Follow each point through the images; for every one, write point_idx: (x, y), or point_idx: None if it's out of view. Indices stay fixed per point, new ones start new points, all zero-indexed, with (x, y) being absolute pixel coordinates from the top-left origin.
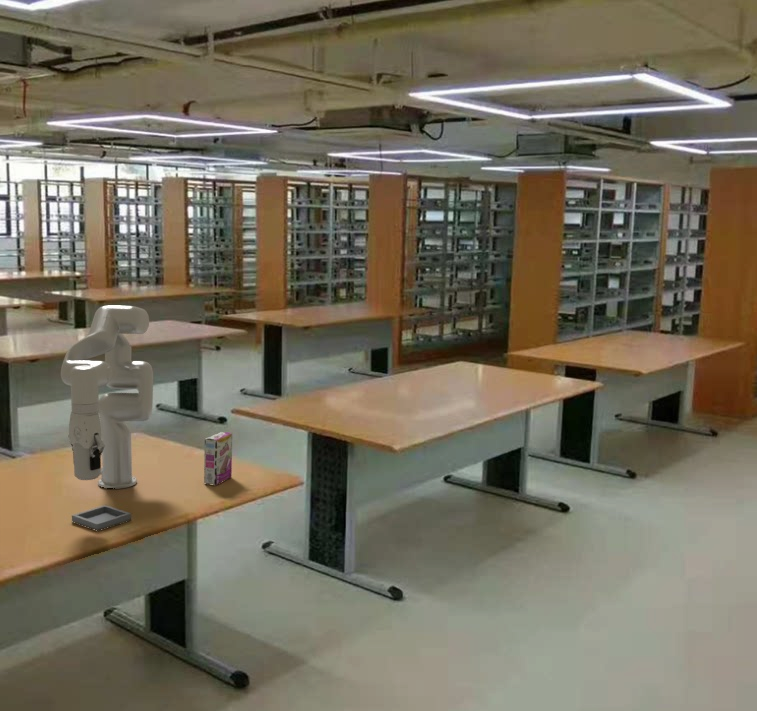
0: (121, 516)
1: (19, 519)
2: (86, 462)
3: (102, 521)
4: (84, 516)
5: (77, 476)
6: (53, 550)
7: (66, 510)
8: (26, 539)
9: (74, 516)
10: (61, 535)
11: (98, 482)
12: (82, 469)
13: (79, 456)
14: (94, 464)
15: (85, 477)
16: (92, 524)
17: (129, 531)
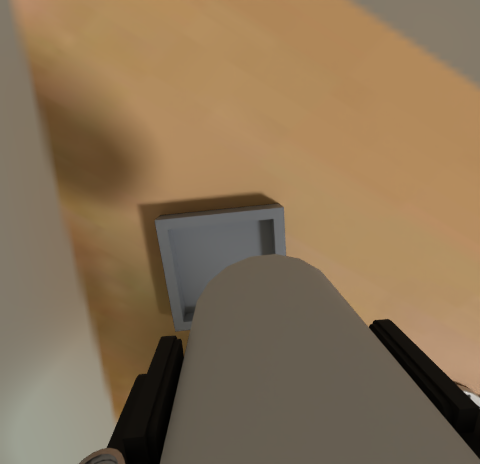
0: (170, 302)
1: (422, 103)
2: (190, 362)
3: (168, 244)
4: (273, 241)
5: (259, 258)
6: (97, 31)
7: (375, 242)
8: (249, 19)
9: (270, 208)
10: (204, 123)
11: (470, 392)
12: (221, 300)
13: (245, 371)
14: (137, 389)
15: (209, 283)
16: (179, 216)
17: (105, 276)
